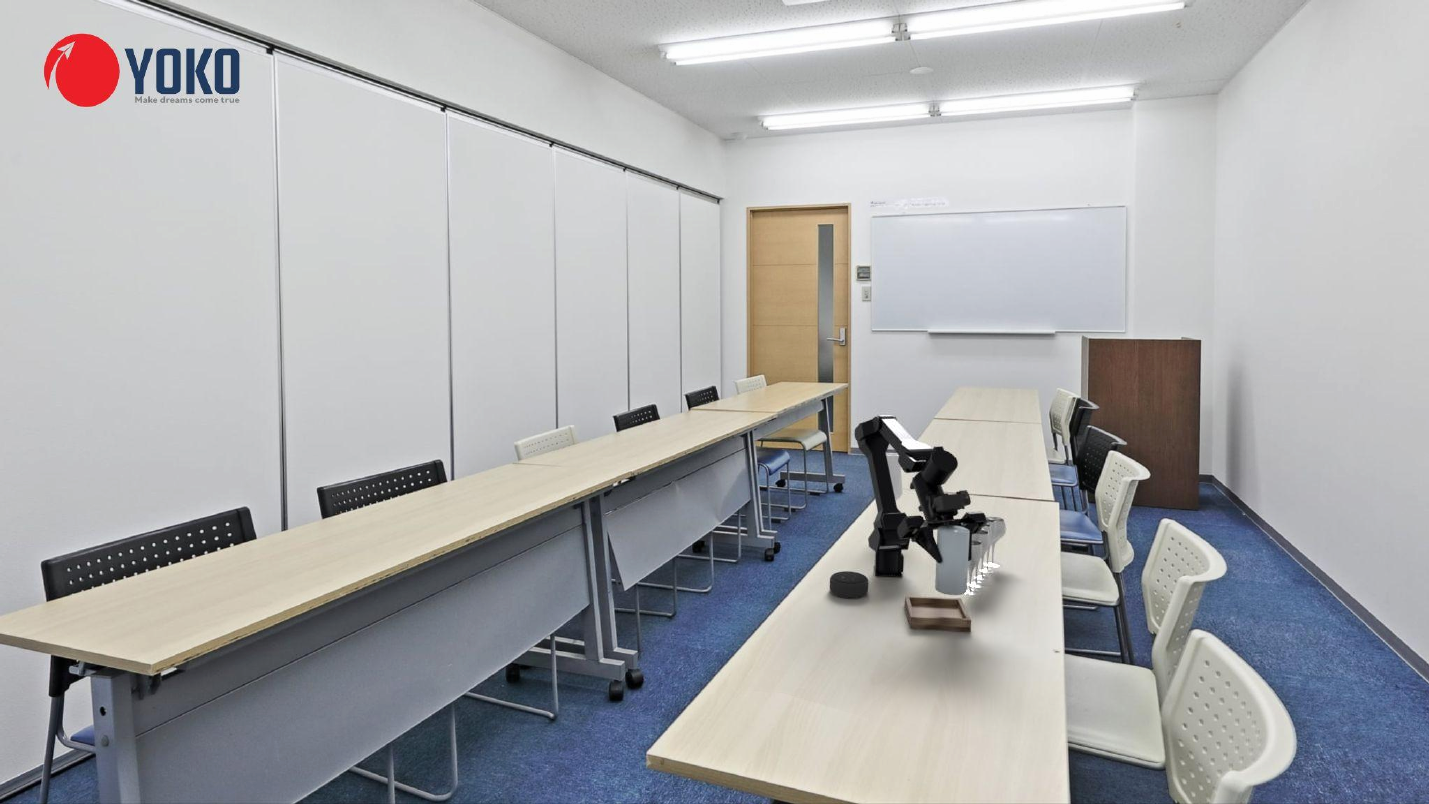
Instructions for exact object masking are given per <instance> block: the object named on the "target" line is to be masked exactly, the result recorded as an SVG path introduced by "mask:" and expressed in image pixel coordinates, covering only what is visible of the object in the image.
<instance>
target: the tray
mask: <svg viewBox="0 0 1429 804" xmlns="http://www.w3.org/2000/svg"><path fill="white" fill-rule="evenodd" d="M904 609H905V612H906V616H907V621H908V625H909V628H910V629H912V630H926V631H927V630H928V631H945V632H946V631H947V632H965V633H971V632H972V618H971V617H970V615H969V612H968V610H967V608H966V606H965V604H964V602H963V599H962V598H957V597H942V596H941V597H940V596H922V595H921V596H919V595H905V596H904Z"/></svg>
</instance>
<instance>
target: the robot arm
mask: <svg viewBox="0 0 1429 804" xmlns="http://www.w3.org/2000/svg"><path fill="white" fill-rule="evenodd" d="M854 439H855V440H856V442H857V445H858V449H859V451H860V452H861V453H862V454H863V455H864V456H865V457H866V459H867V464H868V470H869V475H870V479H871V484H872V490H873V495H874V501H875V504H876V509H877V514H876V517H875V519H874V521H873V530H872V532H871V533H870V535H869V536H868V538H867V539H868V540H867V541H868V548H870V549H871V550H873V551H874V565H873V571H874V576H876V577H899V578H901V577H903V573H904V566H905V565H904V564H905V562H904V561H905V556H904V554H903V552H902V551H904V550H905V551H908V549H909V546H910V542H912V543H916V544H917V545H918V546H919V547H921V549H923V550H924V551H925V552H927V554H929V556H931V558H932V559H934V560H935V562H936V561H937V562H938V563H939V564H940V563H941V562H942V558H941V555H940V552H939V549H938V547H937V540H936V539H935V537H934V531H935V530H937V529H938V527H940V526H945V525H952V526H960V527H964V528H966V529H968V530H969V531H970V532H969V553H968V561H970V560H971V559H972V534H976V533H978V532H979V531H980V530H981V529H982V528H983V527H984V525H985V524H986V523H987V522H988V520H987V518H986V517H987V516H986V514H985V513H984V512H983V511H967V512H965V513H964V514H963V516H962V517H960V518H954V517H956V516H957V515H958V514H959V511H960V510H965V509H966V508H965V507H966V506H969V505H971V503H972V501H971V496H970V493H969V492H968V490H967V489H965V490H963V489H962V490H959V491H956V492H955V493H951V494H949V493H947V492H946V493H945V491H944V488H943V485H945V484H946V483H947V482H948V481H949V479H950V478H951V476H952V475H953V474H954V472H955V471H956V470H957V468H958V466H959V461H958V459H957V457H956V456H955V455H954V454H952V453H951V452H949V451H947V450H946V449H944V446H942V445H937V446H933V448H932V447H931V446H929V445H928V444H926V443H923V442H922V441H917V440H915V439H914V438H913V437H912V436H911V435H910V433H909V432H908V431H907V430H906V429H905V428H904V427H903V426H902V425H901V424H900V423H899V422H898V419H897V417H896V416H895V415H892V414H888V415H887V414H881V415H877V416H874V417H872V418H871V419H869V420H865V421H863V422H860V423H858V425H857V426H856V427H855V429H854ZM889 446H891V447H892V448H893V450H894V451H895V453H897V454H898V455H899V458H898V463H899V464H900V466H901V470H902V471H903V472H904V473H906V474H911V473H913V474H915V473H916V474H915V475H914V476H913V477H912V480H911V482H910V483H909V490H915V495H916V496H917V499H918V503H919V506H918V507H917V508H918V511H919V512H921V513H922V514H923V516H922V515H907V514H906V512H905V511H904V512H902V511H900V510H899V508H898V506H897V501H896V500H895V495H894V490H893V485H892V481H891V476H890V471H889V466H888V461H887V456H886V453H887V451H888V448H889Z"/></svg>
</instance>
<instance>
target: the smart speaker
mask: <svg viewBox="0 0 1429 804" xmlns="http://www.w3.org/2000/svg"><path fill="white" fill-rule="evenodd" d="M869 585H870V584H869V578H868V577H867V576H866V575H864V574H863V573H860V572H857V571H850V570H849V571H848V570H847V571H845V570H843V571H838V572H834V573H833V574H831V576H830V577H829V590H830V593H831V594H833V595H834V596H836V597H838V598H843V599H860V598H862V597H865V596H866V595H867V594H868V593H869Z"/></svg>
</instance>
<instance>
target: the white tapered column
mask: <svg viewBox="0 0 1429 804" xmlns="http://www.w3.org/2000/svg"><path fill="white" fill-rule="evenodd" d="M886 456H887V461H888V466H889V471H890V476H891V481H892V485H893V490H894V495H895V500H896V502H897V501H898V500H899V499H900V498H901V497H902V495H903V477H902V468H901V466H900V464H899V463H898V458H899V455H898V453H897V452H886Z"/></svg>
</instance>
